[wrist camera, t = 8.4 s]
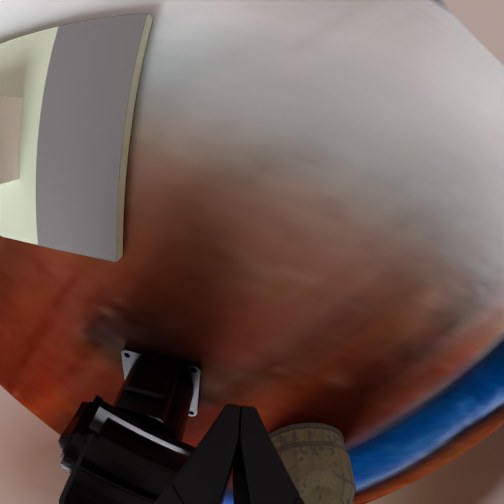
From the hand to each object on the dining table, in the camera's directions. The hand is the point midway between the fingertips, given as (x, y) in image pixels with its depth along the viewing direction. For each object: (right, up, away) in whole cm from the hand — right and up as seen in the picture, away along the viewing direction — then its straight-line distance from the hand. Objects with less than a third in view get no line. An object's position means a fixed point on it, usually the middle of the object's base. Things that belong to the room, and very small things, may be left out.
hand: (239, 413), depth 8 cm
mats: (-19, +14, +8) cm, 25 cm away
